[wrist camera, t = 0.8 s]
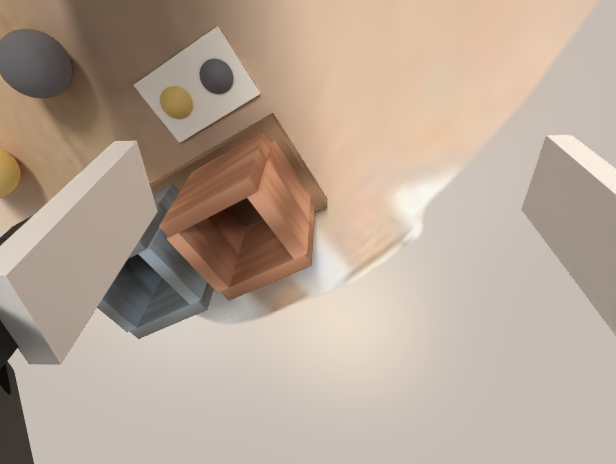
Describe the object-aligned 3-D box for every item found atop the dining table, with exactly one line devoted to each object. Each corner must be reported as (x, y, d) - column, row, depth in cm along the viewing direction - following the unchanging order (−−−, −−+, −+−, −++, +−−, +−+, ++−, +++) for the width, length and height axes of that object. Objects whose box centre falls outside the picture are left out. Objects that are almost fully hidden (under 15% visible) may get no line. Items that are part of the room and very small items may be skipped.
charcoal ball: (8, 45, 33) (-37, 59, 29) (48, 11, 31) (7, 20, 27) (57, 98, 35) (22, 118, 31) (96, 69, 34) (65, 85, 30)
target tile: (134, 83, 34) (132, 85, 34) (217, 25, 32) (216, 26, 31) (180, 141, 37) (178, 144, 37) (260, 92, 34) (259, 95, 34)
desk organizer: (106, 210, 42) (49, 276, 33) (273, 112, 35) (255, 164, 27) (169, 273, 47) (134, 346, 38) (327, 198, 40) (327, 265, 32)
